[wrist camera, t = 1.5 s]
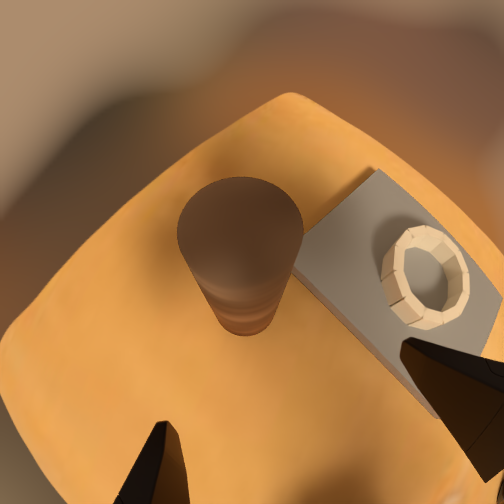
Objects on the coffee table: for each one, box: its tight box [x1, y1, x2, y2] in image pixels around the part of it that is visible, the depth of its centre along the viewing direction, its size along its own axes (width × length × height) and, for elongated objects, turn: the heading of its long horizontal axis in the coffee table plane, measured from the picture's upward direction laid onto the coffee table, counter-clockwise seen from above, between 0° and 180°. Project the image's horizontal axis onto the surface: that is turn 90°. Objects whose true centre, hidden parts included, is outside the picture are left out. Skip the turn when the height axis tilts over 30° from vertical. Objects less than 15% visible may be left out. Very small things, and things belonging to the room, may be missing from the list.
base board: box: [291, 169, 503, 419], centre depth 21 cm, size 22×16×4 cm
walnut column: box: [177, 177, 303, 336], centre depth 17 cm, size 5×5×13 cm
